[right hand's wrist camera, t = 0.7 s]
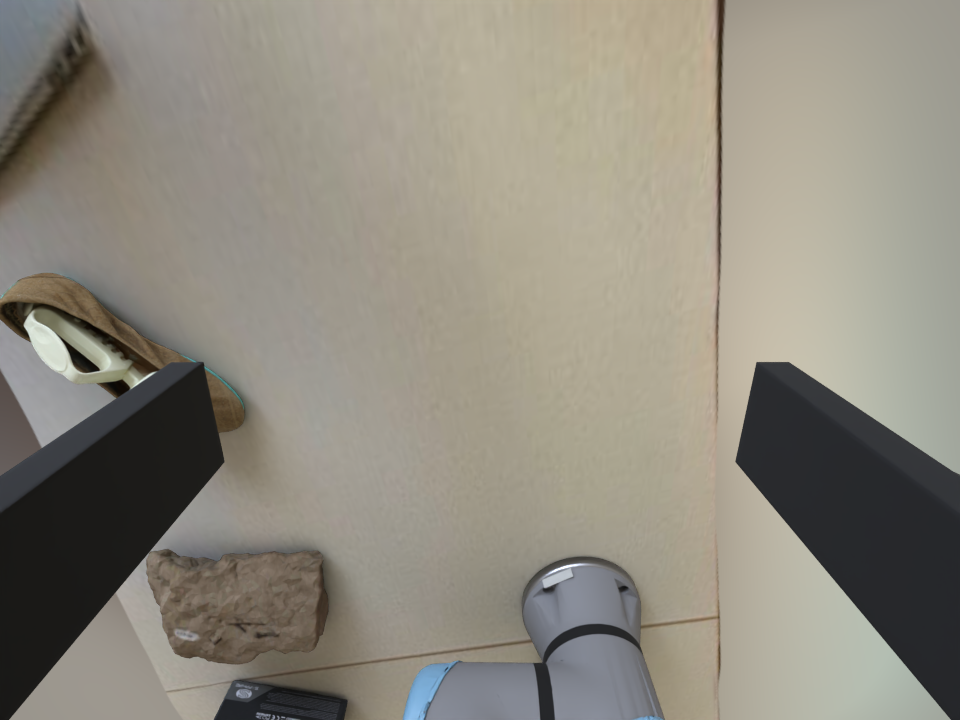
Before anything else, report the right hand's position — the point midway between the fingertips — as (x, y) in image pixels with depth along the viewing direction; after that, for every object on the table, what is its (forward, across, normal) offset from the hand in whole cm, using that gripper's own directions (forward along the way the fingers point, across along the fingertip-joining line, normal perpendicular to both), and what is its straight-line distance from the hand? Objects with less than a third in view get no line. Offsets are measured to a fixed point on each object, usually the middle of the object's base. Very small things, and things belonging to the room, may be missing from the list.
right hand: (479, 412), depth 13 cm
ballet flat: (+41, +36, +14) cm, 56 cm away
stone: (+41, +30, +46) cm, 68 cm away
